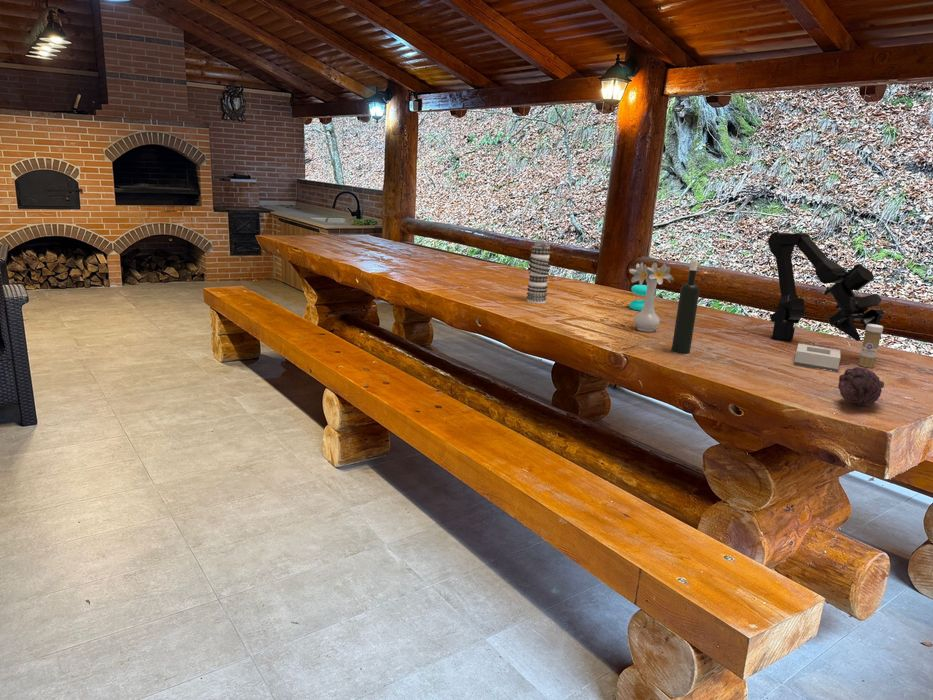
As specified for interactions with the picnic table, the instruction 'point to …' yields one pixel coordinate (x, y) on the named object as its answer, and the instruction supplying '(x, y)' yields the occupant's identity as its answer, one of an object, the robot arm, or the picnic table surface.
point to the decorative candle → (538, 273)
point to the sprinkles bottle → (870, 345)
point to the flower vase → (649, 294)
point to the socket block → (817, 357)
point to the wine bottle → (686, 313)
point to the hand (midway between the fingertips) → (869, 339)
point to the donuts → (639, 291)
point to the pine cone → (860, 386)
